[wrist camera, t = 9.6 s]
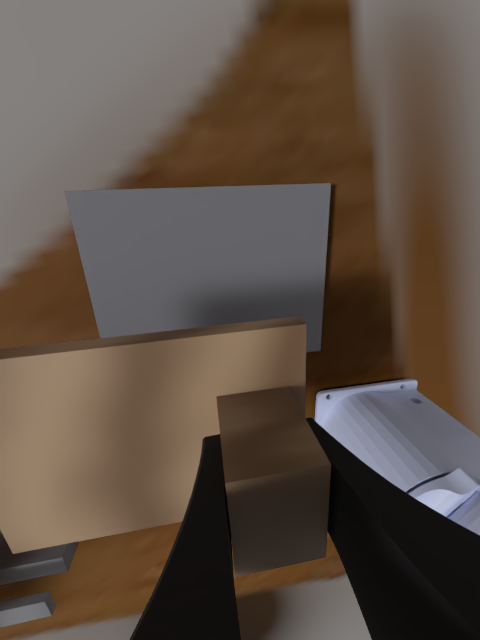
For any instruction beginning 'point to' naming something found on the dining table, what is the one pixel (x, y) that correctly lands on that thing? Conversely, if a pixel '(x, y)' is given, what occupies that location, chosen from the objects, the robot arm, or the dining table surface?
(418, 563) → the robot arm
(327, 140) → the dining table surface
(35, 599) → the toolbox
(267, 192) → the lid mat
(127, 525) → the toolbox lid
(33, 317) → the dining table surface
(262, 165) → the dining table surface
